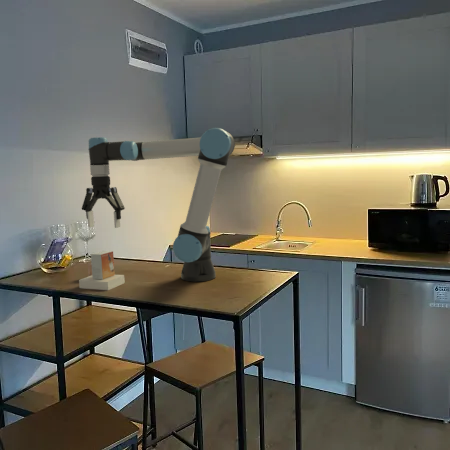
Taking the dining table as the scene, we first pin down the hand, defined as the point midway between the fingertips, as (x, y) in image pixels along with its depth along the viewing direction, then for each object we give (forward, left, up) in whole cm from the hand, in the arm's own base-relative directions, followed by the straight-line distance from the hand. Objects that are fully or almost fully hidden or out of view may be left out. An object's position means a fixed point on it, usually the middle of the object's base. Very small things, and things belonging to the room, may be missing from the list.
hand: (104, 227), depth 189 cm
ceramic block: (+1, +2, -25) cm, 25 cm away
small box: (+1, +1, -21) cm, 21 cm away
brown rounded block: (+12, -7, -25) cm, 28 cm away
